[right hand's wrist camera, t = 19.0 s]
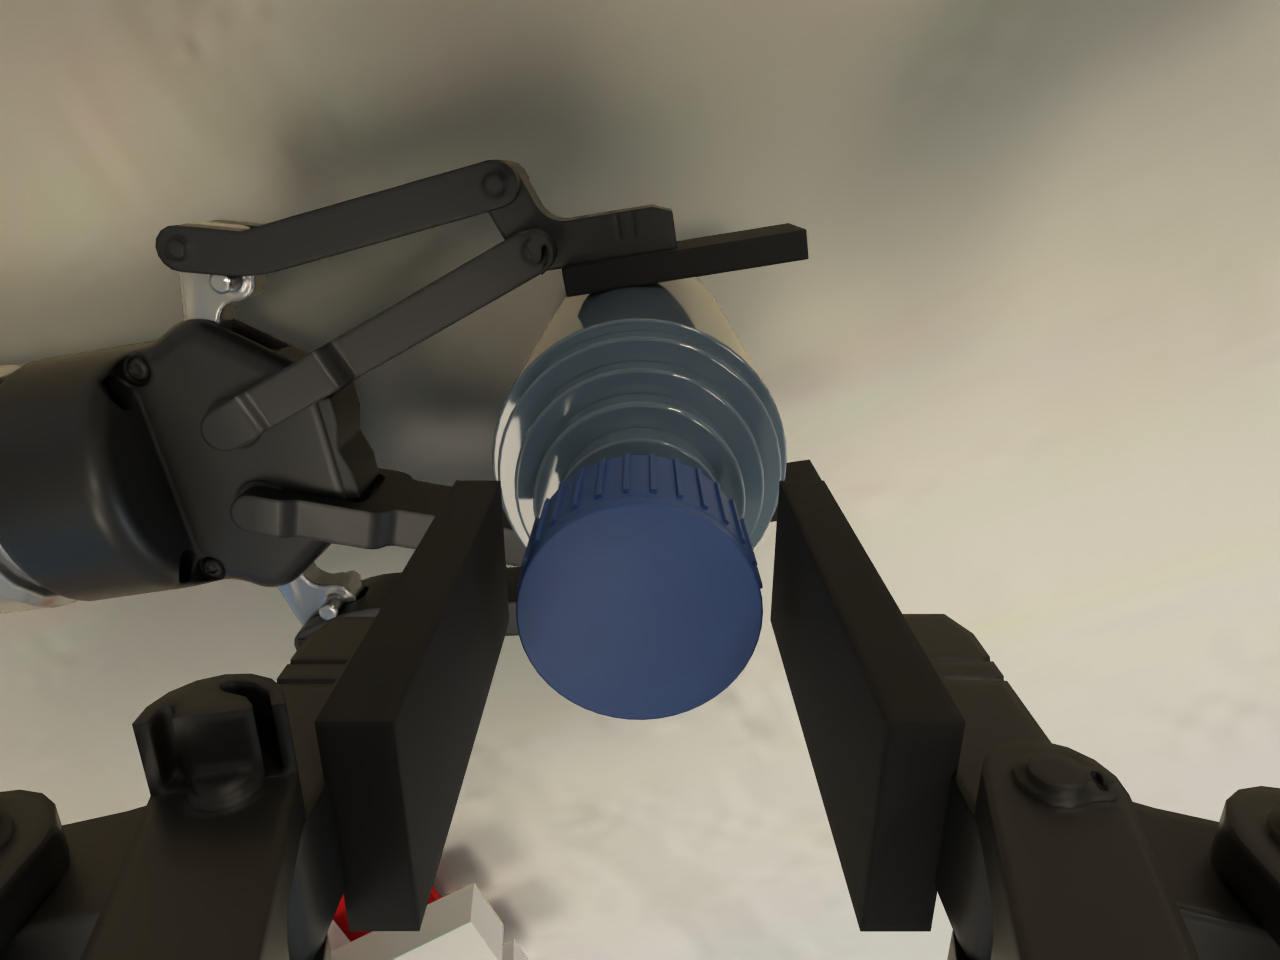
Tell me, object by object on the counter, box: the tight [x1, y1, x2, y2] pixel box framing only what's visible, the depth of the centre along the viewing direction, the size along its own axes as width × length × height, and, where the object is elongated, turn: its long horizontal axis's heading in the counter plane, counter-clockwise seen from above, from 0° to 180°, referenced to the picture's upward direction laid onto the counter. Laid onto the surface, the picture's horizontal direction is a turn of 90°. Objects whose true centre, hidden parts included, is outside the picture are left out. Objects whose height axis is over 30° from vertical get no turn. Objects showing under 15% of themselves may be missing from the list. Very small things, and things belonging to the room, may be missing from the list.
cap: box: [516, 453, 763, 720], centre depth 13 cm, size 4×4×2 cm
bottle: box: [492, 277, 787, 549], centre depth 22 cm, size 7×7×19 cm
